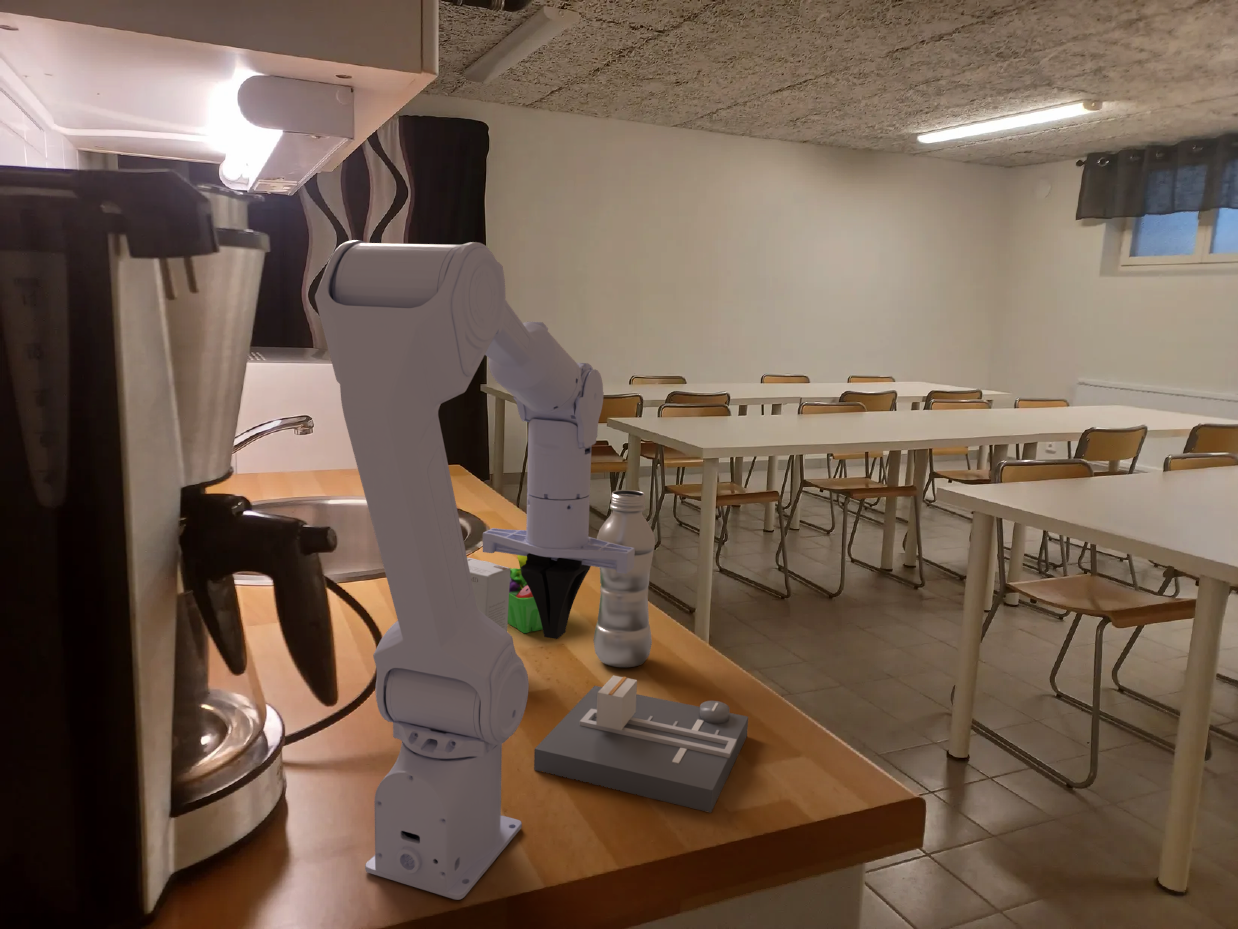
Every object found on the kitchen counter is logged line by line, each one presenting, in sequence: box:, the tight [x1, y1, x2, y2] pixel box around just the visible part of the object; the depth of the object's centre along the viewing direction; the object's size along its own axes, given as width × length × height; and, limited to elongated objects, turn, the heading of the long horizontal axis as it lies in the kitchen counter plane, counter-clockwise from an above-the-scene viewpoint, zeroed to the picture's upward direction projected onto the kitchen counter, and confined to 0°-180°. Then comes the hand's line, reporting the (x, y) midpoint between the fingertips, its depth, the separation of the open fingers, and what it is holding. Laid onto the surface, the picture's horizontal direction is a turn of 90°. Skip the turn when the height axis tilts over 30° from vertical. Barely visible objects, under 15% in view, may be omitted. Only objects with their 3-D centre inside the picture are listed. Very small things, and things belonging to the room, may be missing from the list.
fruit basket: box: [507, 555, 543, 634], centre depth 111 cm, size 11×9×11 cm
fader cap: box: [596, 675, 638, 730], centre depth 79 cm, size 4×2×4 cm, turn 160°
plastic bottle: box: [593, 489, 656, 668], centre depth 97 cm, size 6×7×20 cm
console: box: [533, 685, 749, 813], centre depth 79 cm, size 14×16×3 cm
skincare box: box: [467, 557, 511, 632], centre depth 94 cm, size 6×4×12 cm
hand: (554, 634), depth 81 cm, fingers closed
